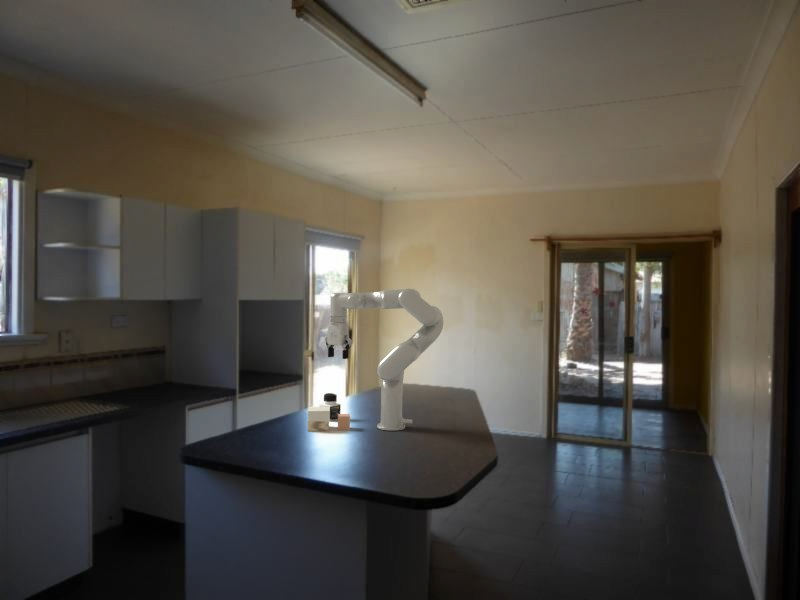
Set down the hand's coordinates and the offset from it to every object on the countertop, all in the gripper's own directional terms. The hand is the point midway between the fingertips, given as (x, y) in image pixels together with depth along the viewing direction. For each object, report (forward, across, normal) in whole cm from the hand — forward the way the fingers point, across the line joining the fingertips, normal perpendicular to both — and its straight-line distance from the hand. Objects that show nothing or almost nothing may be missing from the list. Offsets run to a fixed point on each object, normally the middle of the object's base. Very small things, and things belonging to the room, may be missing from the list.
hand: (338, 357), depth 255 cm
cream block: (+26, +1, -12) cm, 28 cm away
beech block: (+30, +1, -12) cm, 33 cm away
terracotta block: (+30, +9, -4) cm, 32 cm away
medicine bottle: (+30, -10, +4) cm, 32 cm away
